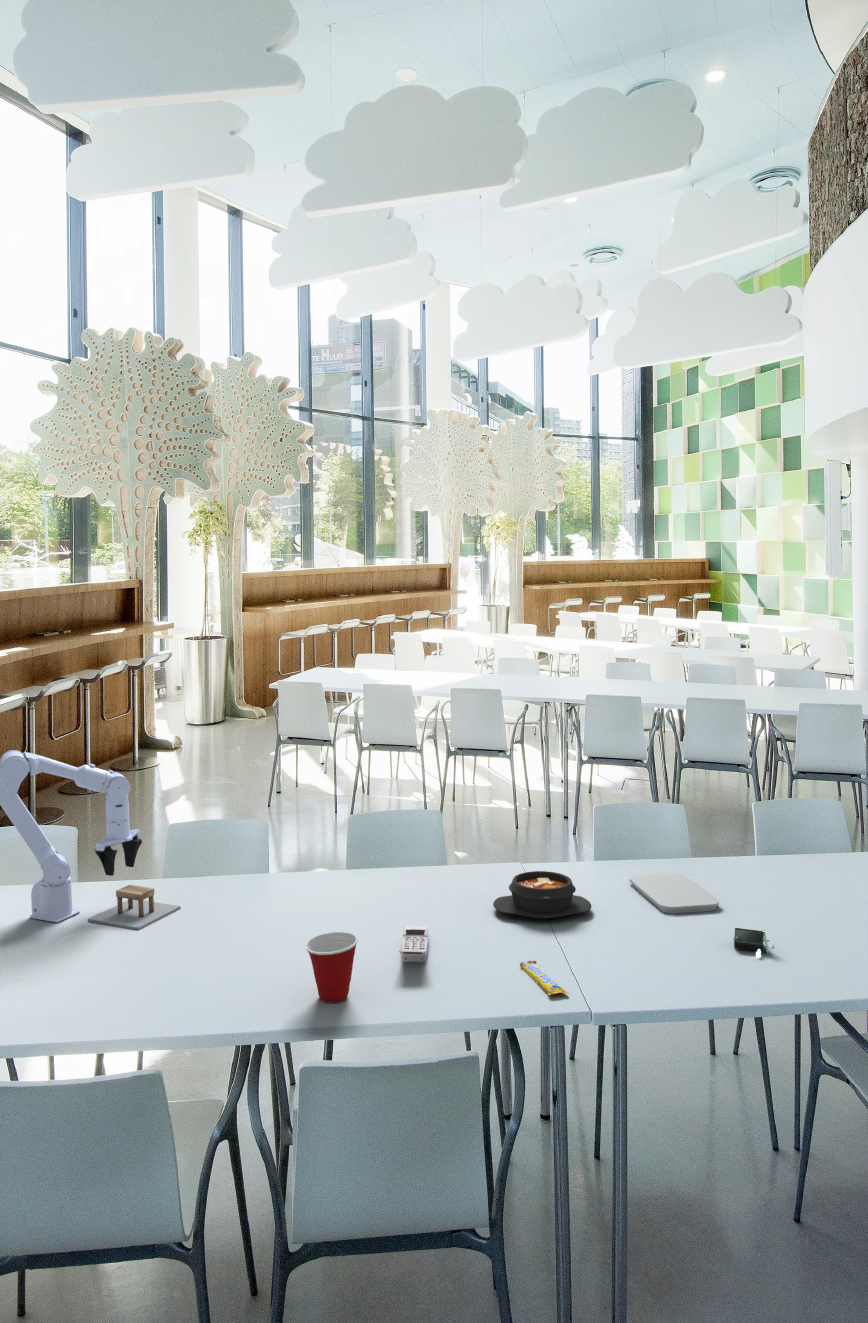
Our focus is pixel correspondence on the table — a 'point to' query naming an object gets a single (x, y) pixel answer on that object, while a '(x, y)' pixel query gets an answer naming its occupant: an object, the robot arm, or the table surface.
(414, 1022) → the table surface
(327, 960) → the plastic cup
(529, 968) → the candy bar
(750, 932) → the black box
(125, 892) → the stool
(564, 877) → the casserole
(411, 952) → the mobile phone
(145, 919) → the mat
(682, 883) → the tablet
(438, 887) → the table surface
